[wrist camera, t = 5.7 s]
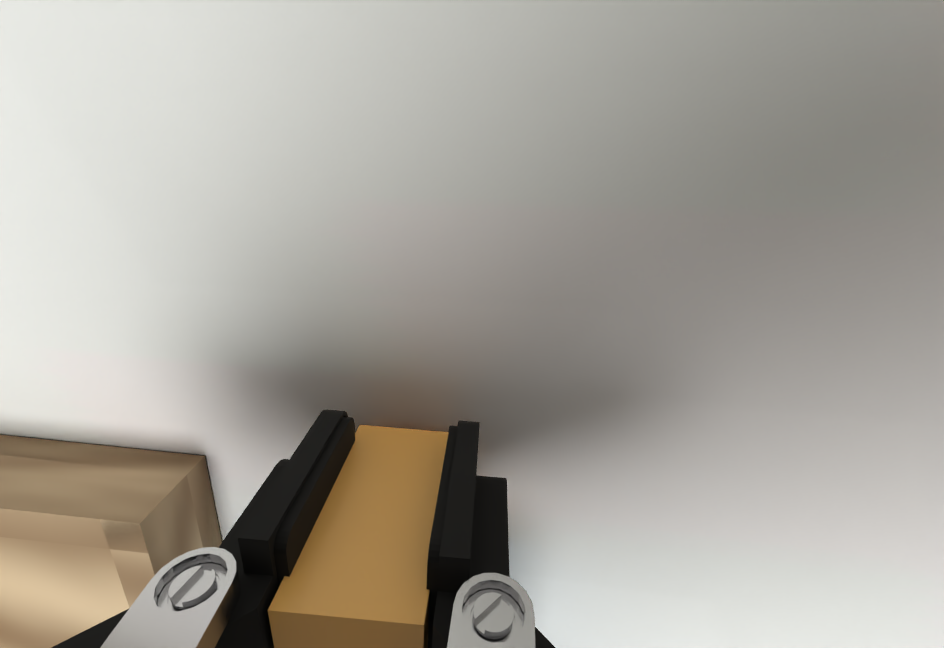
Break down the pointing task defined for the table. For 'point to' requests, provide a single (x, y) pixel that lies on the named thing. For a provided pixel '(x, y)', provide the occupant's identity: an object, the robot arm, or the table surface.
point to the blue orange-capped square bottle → (367, 549)
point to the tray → (90, 531)
